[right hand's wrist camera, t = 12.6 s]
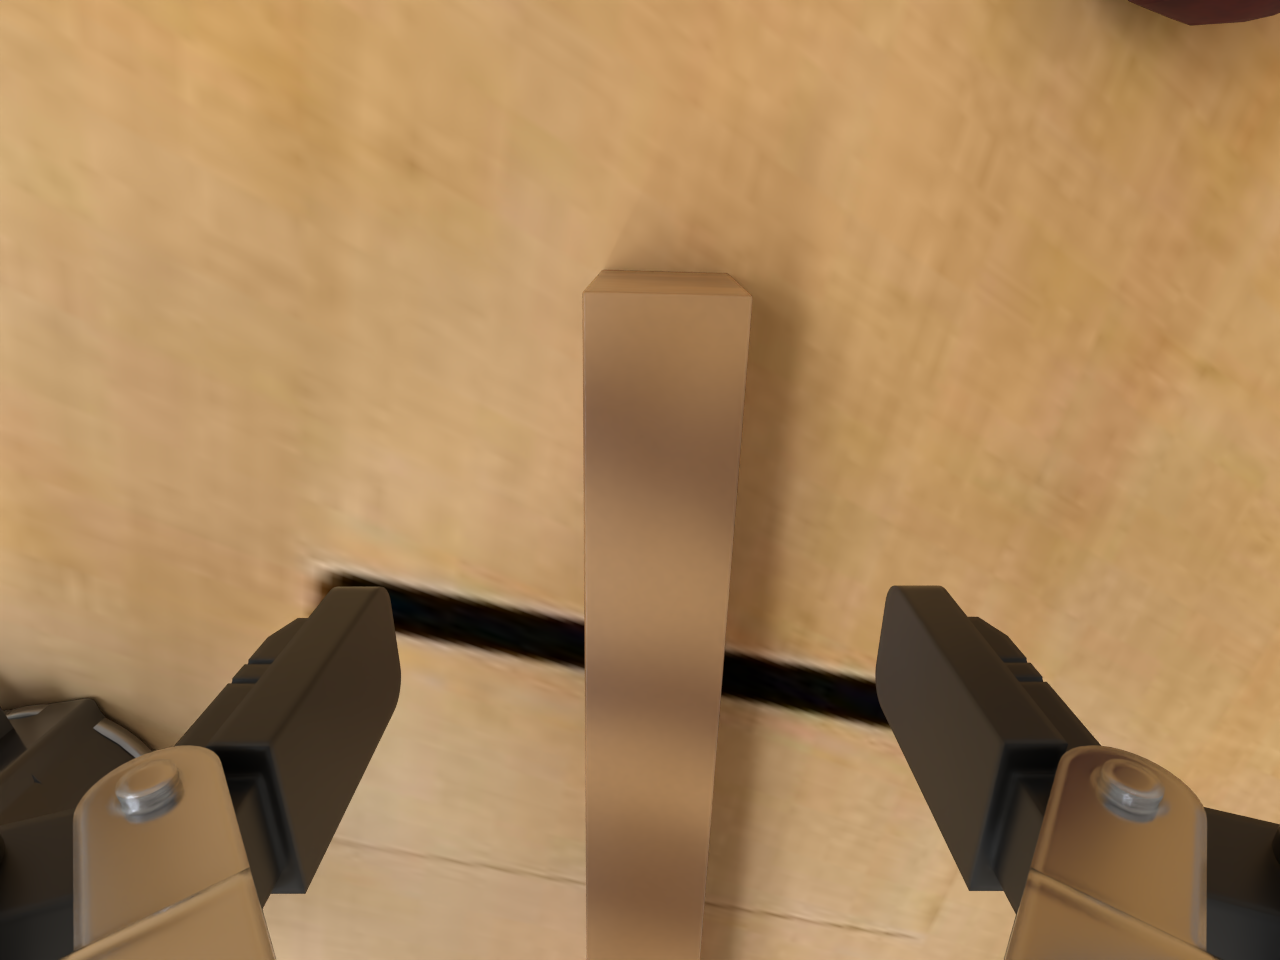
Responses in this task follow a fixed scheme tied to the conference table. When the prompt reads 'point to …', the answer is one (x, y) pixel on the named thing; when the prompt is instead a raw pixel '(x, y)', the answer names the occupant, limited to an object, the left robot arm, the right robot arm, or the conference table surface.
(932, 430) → the conference table surface
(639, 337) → the bar
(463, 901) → the conference table surface
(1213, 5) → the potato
